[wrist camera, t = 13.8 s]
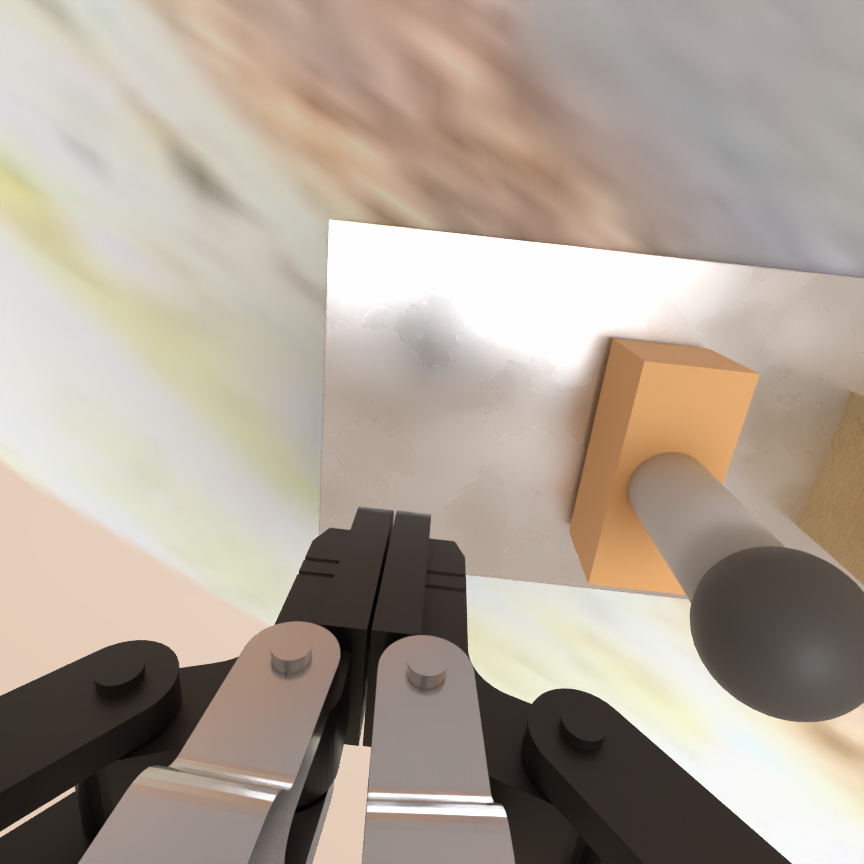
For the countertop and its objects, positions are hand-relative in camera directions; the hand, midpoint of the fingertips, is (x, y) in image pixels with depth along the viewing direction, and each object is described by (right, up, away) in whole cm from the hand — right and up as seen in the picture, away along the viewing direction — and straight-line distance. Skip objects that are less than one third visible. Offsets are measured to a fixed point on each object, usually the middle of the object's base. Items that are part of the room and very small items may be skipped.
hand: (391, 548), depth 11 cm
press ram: (+8, +2, +7) cm, 10 cm away
